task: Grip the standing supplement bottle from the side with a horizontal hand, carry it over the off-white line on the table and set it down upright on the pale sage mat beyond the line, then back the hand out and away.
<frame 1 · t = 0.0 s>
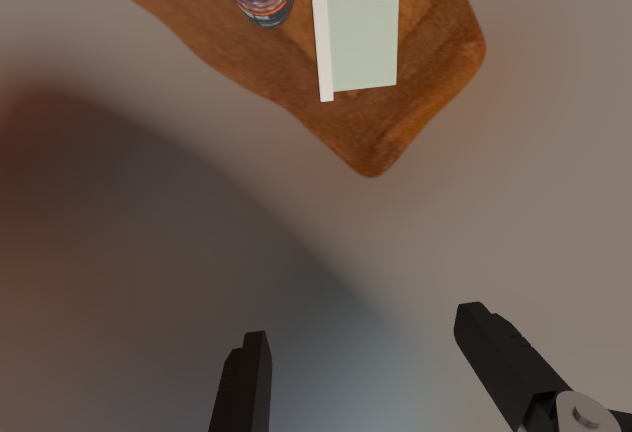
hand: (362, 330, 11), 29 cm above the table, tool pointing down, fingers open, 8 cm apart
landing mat: (349, 22, 31), on the table
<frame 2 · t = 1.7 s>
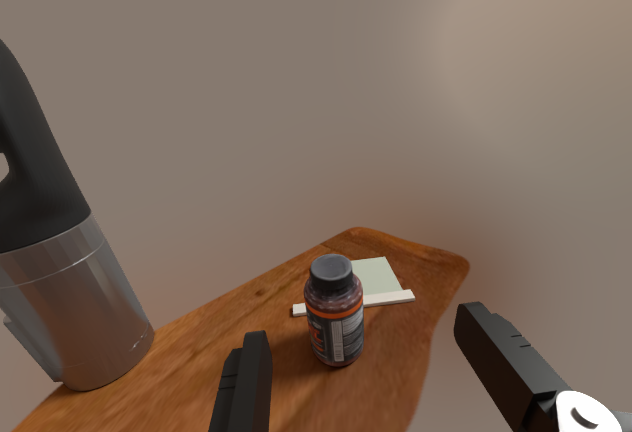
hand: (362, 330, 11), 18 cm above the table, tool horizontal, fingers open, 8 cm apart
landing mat: (348, 287, 39), on the table
supplement bottle: (337, 345, 31), on the table
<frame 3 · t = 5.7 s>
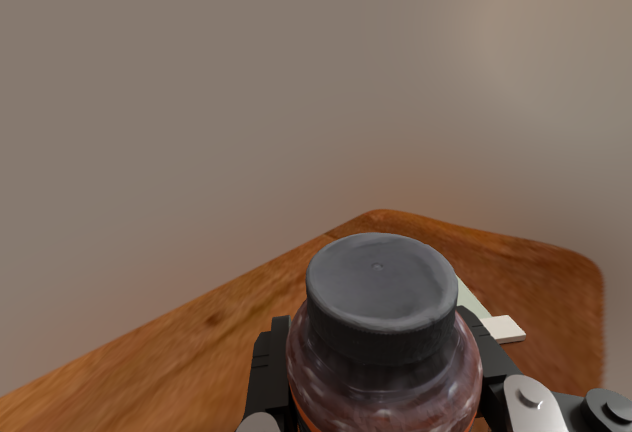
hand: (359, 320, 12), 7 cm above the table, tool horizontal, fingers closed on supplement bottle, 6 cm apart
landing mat: (381, 308, 21), on the table
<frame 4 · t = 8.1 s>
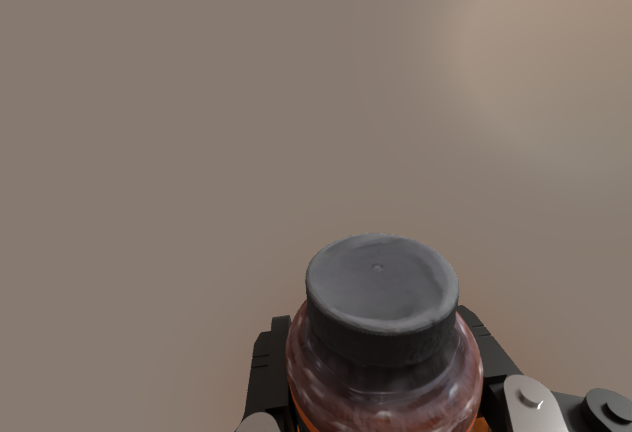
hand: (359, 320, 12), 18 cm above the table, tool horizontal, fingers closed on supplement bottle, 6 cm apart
when the fingers open (8 cm above the table, at t = 10.6 s): supplement bottle stays where it is, resting on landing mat.
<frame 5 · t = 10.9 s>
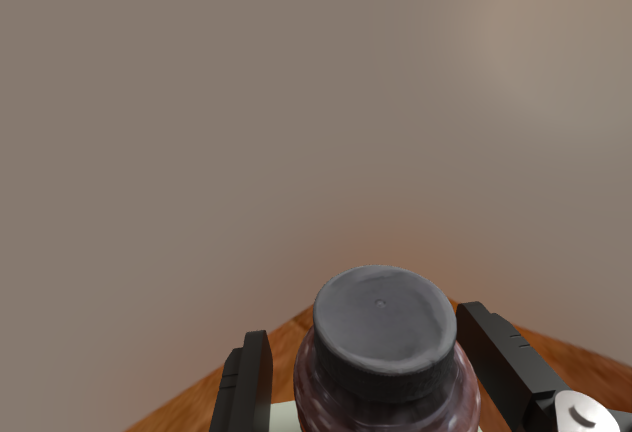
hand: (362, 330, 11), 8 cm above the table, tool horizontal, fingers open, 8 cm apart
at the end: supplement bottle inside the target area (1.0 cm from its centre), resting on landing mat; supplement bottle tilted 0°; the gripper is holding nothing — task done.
